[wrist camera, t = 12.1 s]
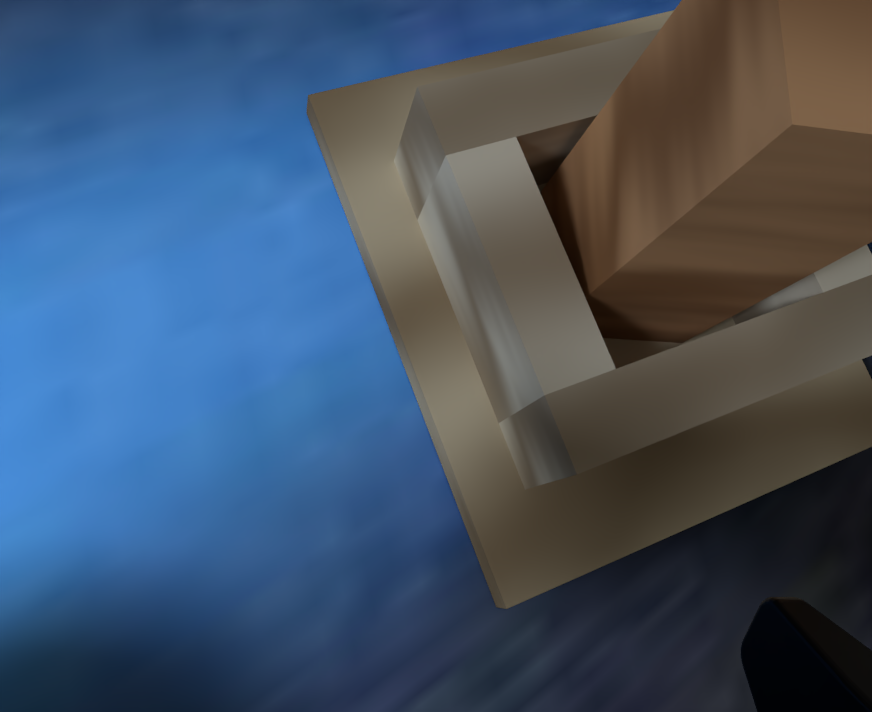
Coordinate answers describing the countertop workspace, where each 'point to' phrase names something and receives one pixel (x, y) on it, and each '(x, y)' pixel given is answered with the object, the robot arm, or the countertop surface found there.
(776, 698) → the robot arm
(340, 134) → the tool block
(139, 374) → the countertop surface
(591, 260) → the wooden peg
